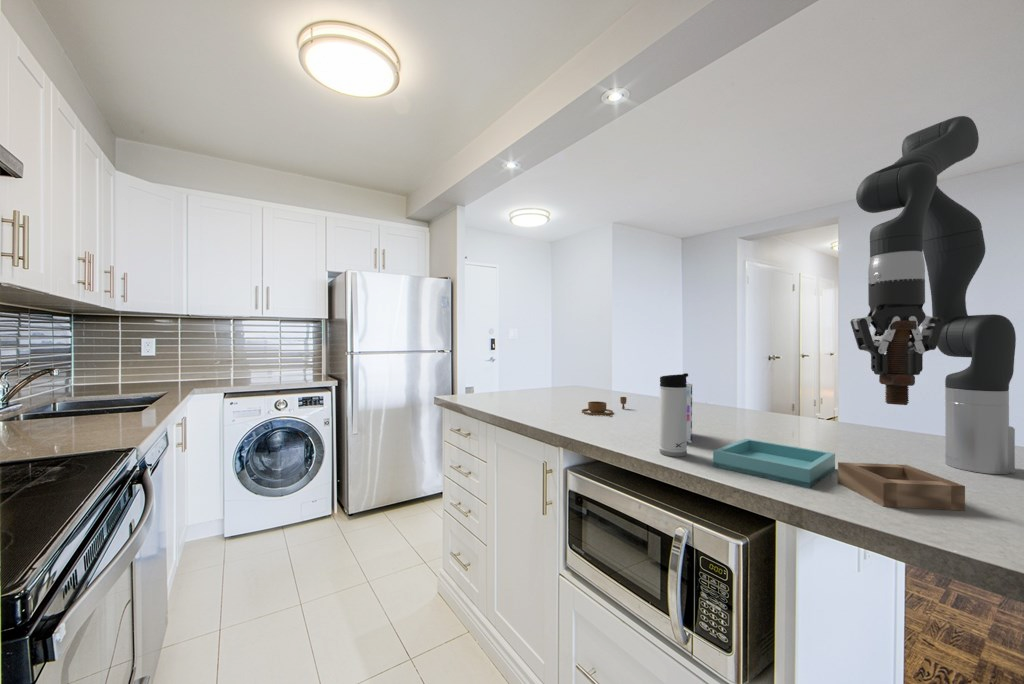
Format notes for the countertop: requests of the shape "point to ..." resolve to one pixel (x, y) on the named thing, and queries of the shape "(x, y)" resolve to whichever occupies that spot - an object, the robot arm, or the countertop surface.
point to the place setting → (601, 407)
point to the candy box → (689, 413)
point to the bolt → (898, 364)
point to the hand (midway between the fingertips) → (896, 374)
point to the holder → (901, 486)
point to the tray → (775, 461)
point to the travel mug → (673, 415)
